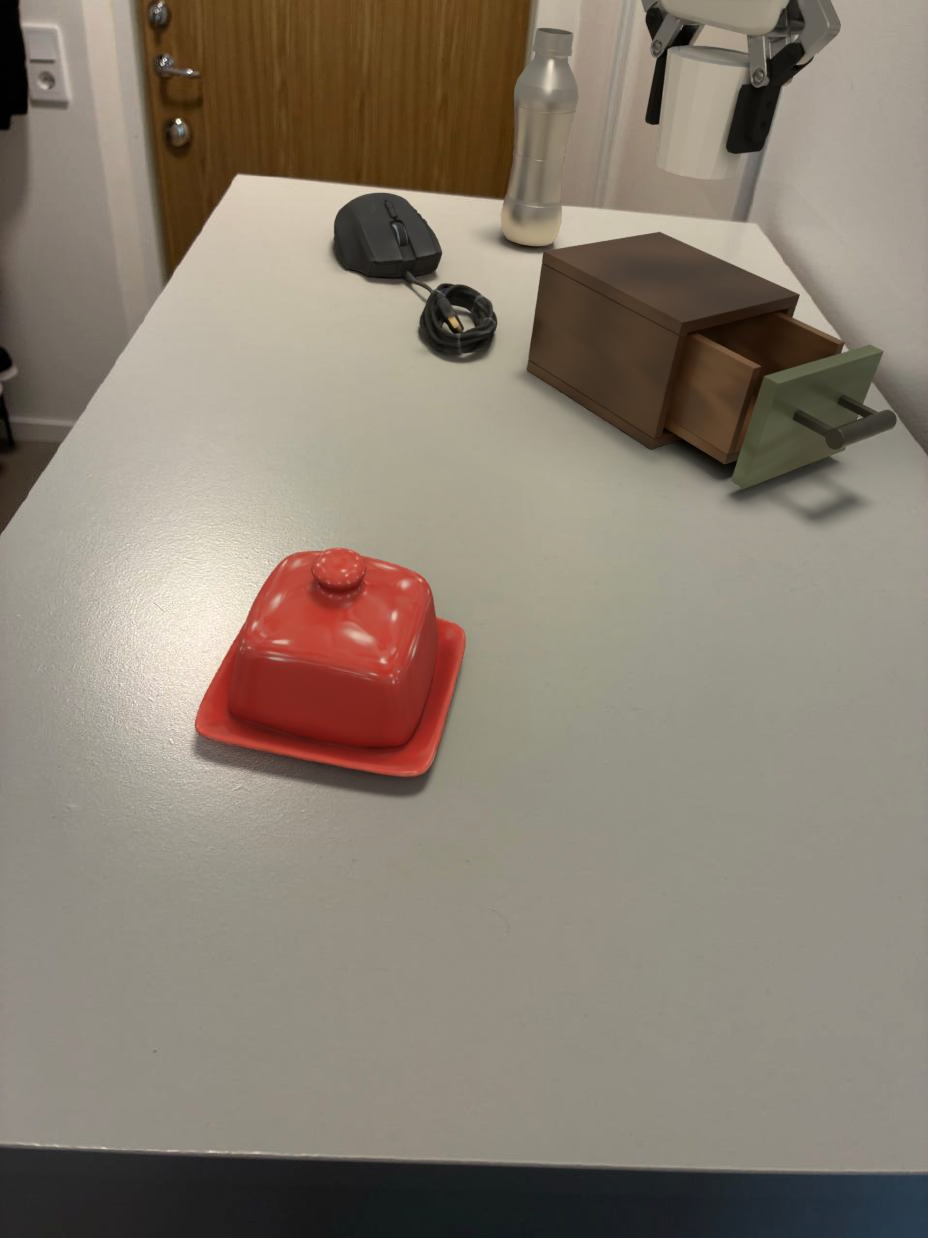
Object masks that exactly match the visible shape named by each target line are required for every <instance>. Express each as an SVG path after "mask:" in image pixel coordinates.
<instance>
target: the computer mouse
mask: <svg viewBox="0 0 928 1238" xmlns="http://www.w3.org/2000/svg"><path fill="white" fill-rule="evenodd" d="M333 248H334V252H335V255H336V256H337V258H338V259H339V260H340V262H341V264H342V265H343V266H344V267H345V268H346V269H348V270H352V271H356V272H360V273H362V274H363V275H365V276H367V277H379V278H405V280H407V282H408V283H412V284H415V286H416V285H417V286H419V287H421V288H423V289H425V290H427V291H428V292H429V295H428V297H427V299H426V302H425V305H424V307H423V310H422V311H421V314H420V316H419V319H418V320H419V322H418V323H419V327H420V329H421V331H422V332H423V334H424V335H425V336H426V338H427V340H428V342H429V343H430V345H431V346H432V347H433V348H434V349H436V350H438V351H442V352H447V353H452V354H471V353H472V354H473V353H475V352H477V351H481V350H484V349H486V347H488V346H489V345H490V344H491V343H492V342H493V339H494V336H495V332H496V330H497V328H498V316H497V315H496V313H495V311H494V307H493V306H494V305H493V302H492V301H491V300H490V299H489V298H487V297H485V296H484V295H483V294H482V293H480V292H479V291H478V290H476V289H474V288H473V287H471V286H469V285H466V284H462V283H460V284H459V283H458V284H453V283H451V282H450V283H447V282H444V283H440V284H439V285H437V287H436V288H435V289H432V287H431V286H429V285H428V284H426V283H425V282H422V281H420V280H418V279H416V278H415V277H417V276H422V275H426V274H430V273H433V272H435V271H437V269H438V267H439V264H440V263H441V260H442V255H443V250H442V247H441V244H440V241H439V238H438V237H437V235H436V233H435V232H434V230H433V229H432V228H431V226H430V225H429V224H428V221H427V220H426V219H425V218H424V217H423V216H422V214H421V213H419V212H418V210H417V209H416V208H415V207H414V206H413V205H412V204H411V203H410V202H409V201H408V200H407V199H406V198H404V197H403V196H400V195H398V194H396V193H390V192H371V193H365V194H362V195H359V196H357V197H354V198H353V199H351V200H350V201H348V202H347V203H345V204H344V205H343V206H341V208H340V209H339V210H338V211H337V213H336V215H335V218H334V221H333ZM453 306H454V307H459V308H463V309H466V310H467V311H469V312H470V313H471V314H472V316H473V318H474V321H475V324H476V326H474V327H472V328H471V327H470V329H467V330H465V331H464V329H465V328H464V327H465V326H464V325H463V323H462V321H461V319H460V318H459V315H458V314H457V311H455V309H454V307H453ZM443 324H445V325H447V328H448V329H449V330H450V332H448V331H446V330H445V329H443V327H442V326H443Z"/></svg>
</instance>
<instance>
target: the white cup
mask: <svg viewBox="0 0 928 1238" xmlns="http://www.w3.org/2000/svg"><path fill="white" fill-rule="evenodd" d="M743 84H751V78H750V67H749V55H748V52H745V51H741V50H737V49H731V48H725V47H718V46H709V45H693V46H691V45H690V46H676V47H671V48H669V49H668V53H667V62H666V70H665V78H664V87H663V95H662V104H661V112H660V121H659V125H658V129H657V138H656V146H655V155H654V163H655V165H656V166H657V168H659V169H661V170H663V171H664V172H669V173H671V174H674V175H678V176H682V177H685V178H691V179H698V180H708V181H710V180H711V181H712V180H713V181H714V180H715V181H717V180H727V179H731V178H733V177H734V175H735V173H736V171H737V168H738V165H739V162H740V159H741V156H742V153H741V154H733V153H730V152H728V151H727V149H726V143H727V139H728V135H729V131H730V127H731V123H732V119H733V115H734V111H735V107H736V103H737V99H738V94H739V91H740V88H741V87H742V85H743Z"/></svg>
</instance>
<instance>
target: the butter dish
mask: <svg viewBox="0 0 928 1238" xmlns="http://www.w3.org/2000/svg"><path fill="white" fill-rule="evenodd" d="M466 643H467V637H466V633H465V630H464V628H462V627H461V626H460V625H459V624H457V623H456V622H453V621H450V620H448V619H444V618H440V617H438V616H437V614H436V607H435V599H434V595H433V591H432V588H431V586H430V584H429V582H428V581H427V580H426V578H425V577H424V576H422V575H421V574H420V573H418V572H417V571H414V570H412V569H409V568H408V567H404V566H403V565H399V564H396V563H393V562H390V561H386V560H382V559H379V558H375V557H374V558H373V557H369V556H365V555H361V554H360V553H359V552H358V551H355V550H353V549H350V548H346V547H332V548H327V549H325V550H305V551H297V552H294V553H292V554H289V555H287V556H286V557H284V558H283V559H282V560H281V561H280V562H278V564H277V565H276V566H275V567H274V568H273V570H272V571H271V573H270V574H269V575H268V577H267V578H266V579H265V580H264V583H263V584H262V586H261V588H260V589H259V591H258V593H257V594H256V596H255V598H254V600H253V602H252V604H251V606H250V609H249V611H248V613H247V615H246V619H245V621H244V623H243V624H242V626H241V628H240V629H239V631H238V633H237V634H236V637H235V638H234V640H233V641H232V643H231V645H230V646H229V649H228V650H227V652H226V654H225V656H224V657H223V660H222V661H221V663H220V665H219V667H218V668H217V670H216V672H215V674H214V676H213V678H212V679H211V681H210V683H209V685H208V688H207V689H206V691H205V693H204V695H203V697H202V699H201V702H200V704H199V706H198V710H197V712H196V715H195V720H194V728H195V731H196V733H197V734H198V735H199V736H201V737H202V738H205V739H207V740H211V741H213V742H217V743H221V744H223V745H224V744H226V745H229V746H232V747H240V748H245V749H250V750H255V751H257V752H258V751H259V752H264V753H270V754H274V755H278V756H283V757H289V758H293V759H297V760H304V761H308V762H314V763H319V764H324V765H330V766H334V767H339V768H344V769H349V770H356V771H361V772H365V773H373V774H376V775H384V776H391V777H399V778H400V777H401V778H414V777H418V776H421V775H424V774H425V773H427V772H428V771H429V769H430V768H431V766H432V765H433V762H434V760H435V758H436V755H437V751H438V748H439V746H440V742H441V738H442V734H443V732H444V727H445V723H446V721H447V717H448V713H449V712H450V711H449V709H450V706H451V703H452V699H453V696H454V692H455V688H456V683H457V681H458V677H459V674H460V673H459V672H460V669H461V666H462V663H463V659H464V654H465V650H466Z"/></svg>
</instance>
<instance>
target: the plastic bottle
mask: <svg viewBox="0 0 928 1238" xmlns="http://www.w3.org/2000/svg"><path fill="white" fill-rule="evenodd" d="M573 42H574V32H572V31H569V30H565V29H560V28H555V27H554V28H553V27H538V28H536V29H535V34H534V42H533V44H532V49H531V51H533V52H534V55H533V58H532V60H531V61H530V62H529V63H528V64H527V66H525V68H524V69H523V71H521V73H520V75H519V76H518V78H517V80H516V83H515V85H514V89H513V113H514V114H513V115H514V117H513V118H514V119H513V120H514V121H513V123H514V132H513V150H512V162H511V166H510V167H511V168H510V173H509V177H508V178H509V180H508V184H507V190H506V194H505V195H504V199H503V203H502V207H501V211H500V227H501V231H502V233H503V235H504V237H505V238H506V239H507V240H509V241H510V242H513V243H516V244H518V245H523V246H529V247H545V246H550V245H551V244H552V243H553V242H554V241H555V240H556V239H557V238H558V236H559V234H560V233H559V232H560V229H561V227H562V223H563V221H562V217H563V215H562V214H563V207H562V200H561V199H562V188H563V187H562V186H563V175H564V174H563V173H564V172H563V171H564V164H565V158H566V157H565V154H566V153H567V147H568V142H569V137H570V133H571V129H572V125H573V122H574V119H575V115H576V111H577V109H576V108H577V107H578V102H579V98H580V97H579V87H578V83H577V81H576V78H575V75H574V71H572V68H571V66H570V64H569V57H571V56H572V55H573Z"/></svg>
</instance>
